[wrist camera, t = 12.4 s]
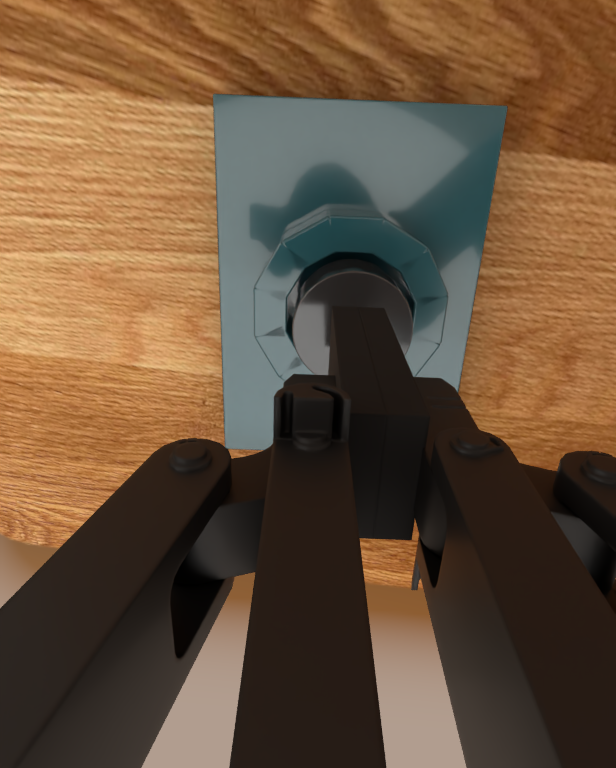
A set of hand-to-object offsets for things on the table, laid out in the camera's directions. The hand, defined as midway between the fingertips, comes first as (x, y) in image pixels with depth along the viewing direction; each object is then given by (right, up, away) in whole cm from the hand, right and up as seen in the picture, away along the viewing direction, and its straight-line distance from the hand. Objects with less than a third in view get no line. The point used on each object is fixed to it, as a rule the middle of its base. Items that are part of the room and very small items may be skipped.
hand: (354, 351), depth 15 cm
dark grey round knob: (0, +2, +4) cm, 4 cm away
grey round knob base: (0, +3, +7) cm, 8 cm away
